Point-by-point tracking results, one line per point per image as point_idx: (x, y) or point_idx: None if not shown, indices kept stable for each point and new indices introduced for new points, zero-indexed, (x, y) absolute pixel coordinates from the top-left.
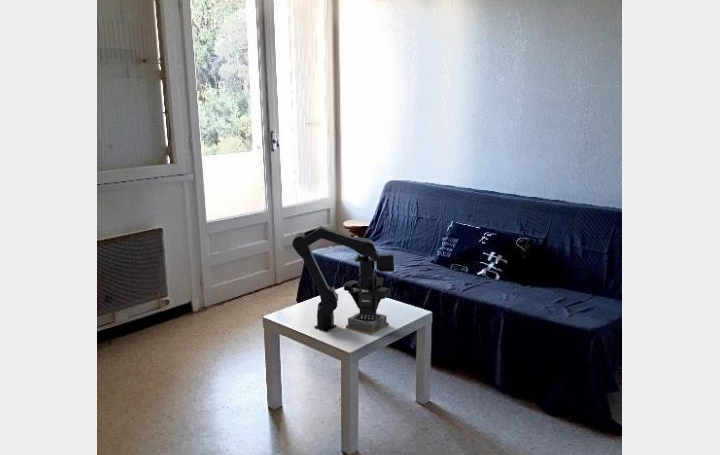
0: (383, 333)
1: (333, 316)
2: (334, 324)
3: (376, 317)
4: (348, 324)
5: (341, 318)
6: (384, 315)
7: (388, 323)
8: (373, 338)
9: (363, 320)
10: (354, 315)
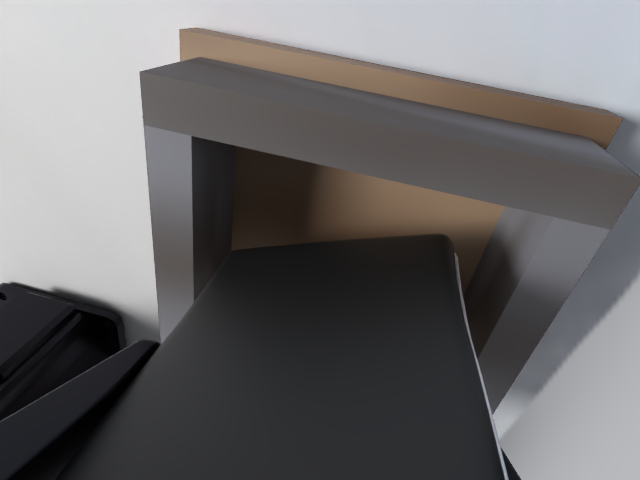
0: (570, 335)
1: (22, 357)
2: (90, 313)
3: (458, 268)
4: None
5: (10, 135)
6: (596, 178)
7: (616, 118)
8: (495, 426)
9: (255, 171)
10: (167, 308)
